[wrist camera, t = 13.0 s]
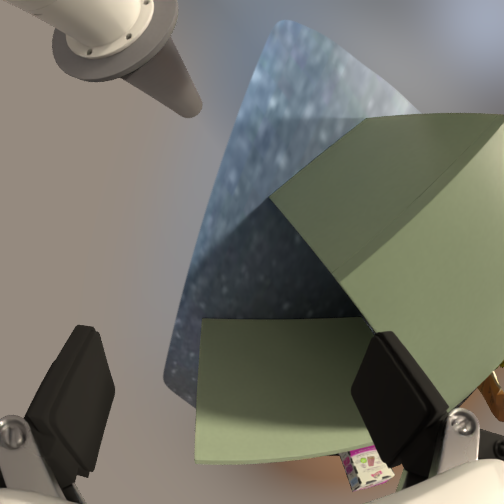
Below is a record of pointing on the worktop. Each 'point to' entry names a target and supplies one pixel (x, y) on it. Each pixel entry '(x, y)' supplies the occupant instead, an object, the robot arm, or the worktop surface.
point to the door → (278, 389)
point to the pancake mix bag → (493, 395)
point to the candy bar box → (365, 468)
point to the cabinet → (415, 235)
